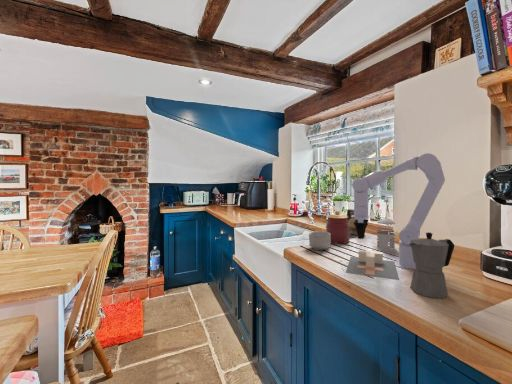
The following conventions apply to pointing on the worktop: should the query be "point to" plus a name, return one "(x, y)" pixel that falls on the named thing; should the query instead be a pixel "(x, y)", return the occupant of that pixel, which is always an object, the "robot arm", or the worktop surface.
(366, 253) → the t block
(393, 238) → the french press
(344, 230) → the canister
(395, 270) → the slate mat
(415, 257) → the coffeepot
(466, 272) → the worktop surface
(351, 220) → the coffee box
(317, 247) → the teacup
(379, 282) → the worktop surface
